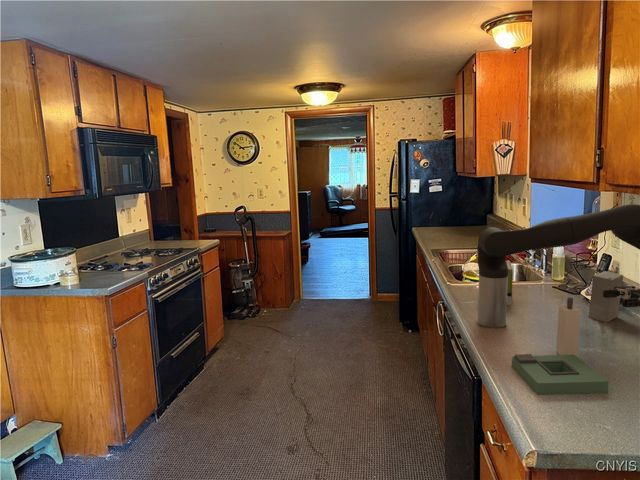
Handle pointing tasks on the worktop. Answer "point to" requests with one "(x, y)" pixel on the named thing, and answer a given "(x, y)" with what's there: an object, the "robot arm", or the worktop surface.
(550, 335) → the worktop surface
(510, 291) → the tea box
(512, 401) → the worktop surface
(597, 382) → the green square socket base
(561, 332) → the plug
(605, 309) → the skincare box
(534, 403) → the worktop surface
